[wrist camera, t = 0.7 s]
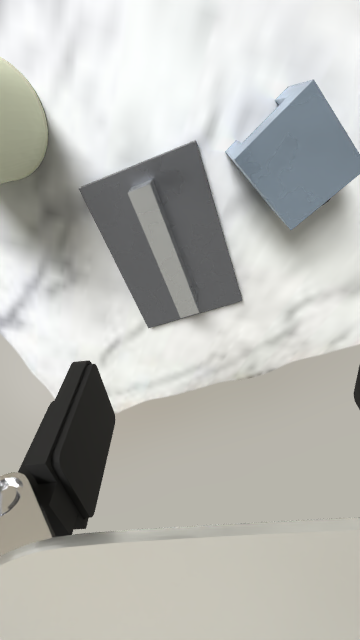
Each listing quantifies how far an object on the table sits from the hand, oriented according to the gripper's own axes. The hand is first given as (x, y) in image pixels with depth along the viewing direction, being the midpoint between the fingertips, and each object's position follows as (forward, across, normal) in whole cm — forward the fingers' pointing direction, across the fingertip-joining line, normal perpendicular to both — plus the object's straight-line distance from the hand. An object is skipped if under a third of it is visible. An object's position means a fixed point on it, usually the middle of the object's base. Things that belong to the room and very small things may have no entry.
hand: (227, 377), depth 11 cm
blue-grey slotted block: (+22, -7, -4) cm, 24 cm away
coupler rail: (+22, +4, +3) cm, 23 cm away
